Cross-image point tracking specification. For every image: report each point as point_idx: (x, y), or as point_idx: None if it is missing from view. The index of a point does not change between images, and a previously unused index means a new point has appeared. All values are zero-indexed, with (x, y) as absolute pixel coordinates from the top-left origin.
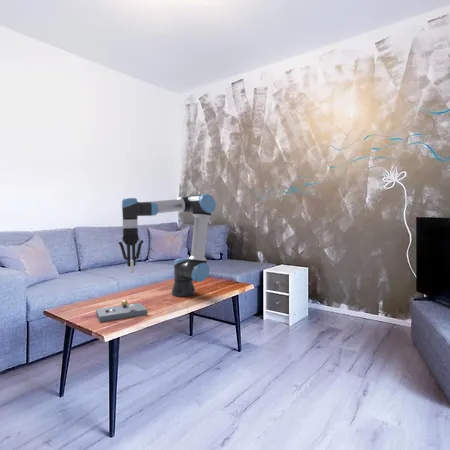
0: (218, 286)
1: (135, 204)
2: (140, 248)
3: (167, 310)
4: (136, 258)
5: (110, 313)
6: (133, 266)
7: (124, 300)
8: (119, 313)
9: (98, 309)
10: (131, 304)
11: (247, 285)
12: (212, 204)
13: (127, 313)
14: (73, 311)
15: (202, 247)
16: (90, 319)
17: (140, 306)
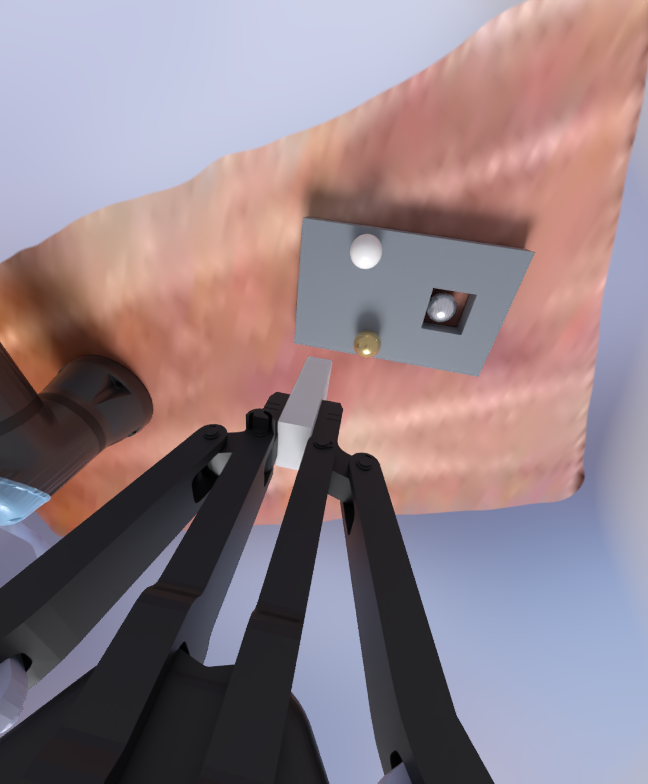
0: None
1: None
2: (81, 527)
3: (209, 218)
4: (231, 436)
5: (467, 271)
6: (296, 383)
7: (366, 348)
8: (436, 241)
9: (473, 366)
10: (368, 256)
11: None
12: None
13: (398, 231)
14: (514, 447)
15: None
16: (528, 316)
17: (311, 290)
